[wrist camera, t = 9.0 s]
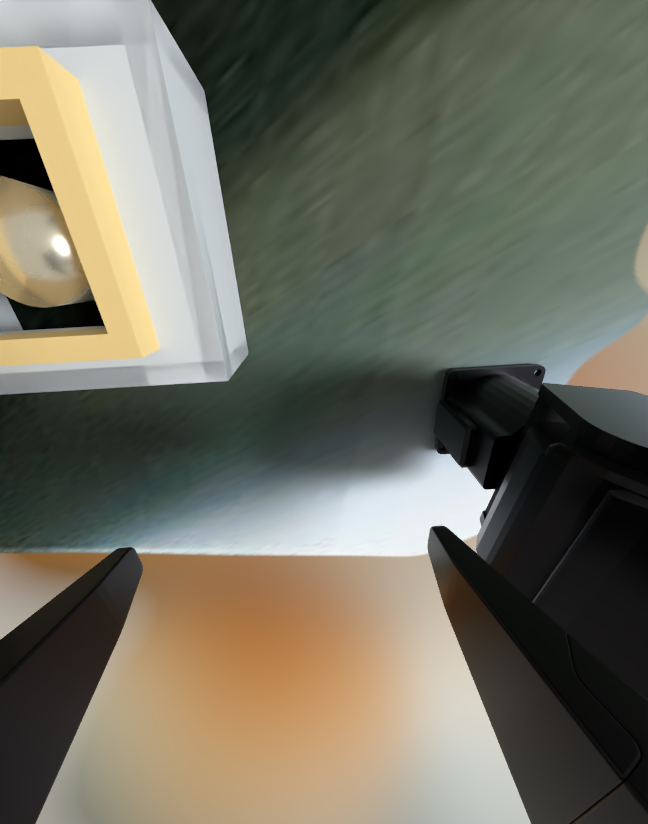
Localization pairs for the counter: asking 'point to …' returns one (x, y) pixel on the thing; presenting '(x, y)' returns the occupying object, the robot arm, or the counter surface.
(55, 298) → the silver metal can
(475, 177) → the counter surface
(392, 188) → the counter surface
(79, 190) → the square frame box
